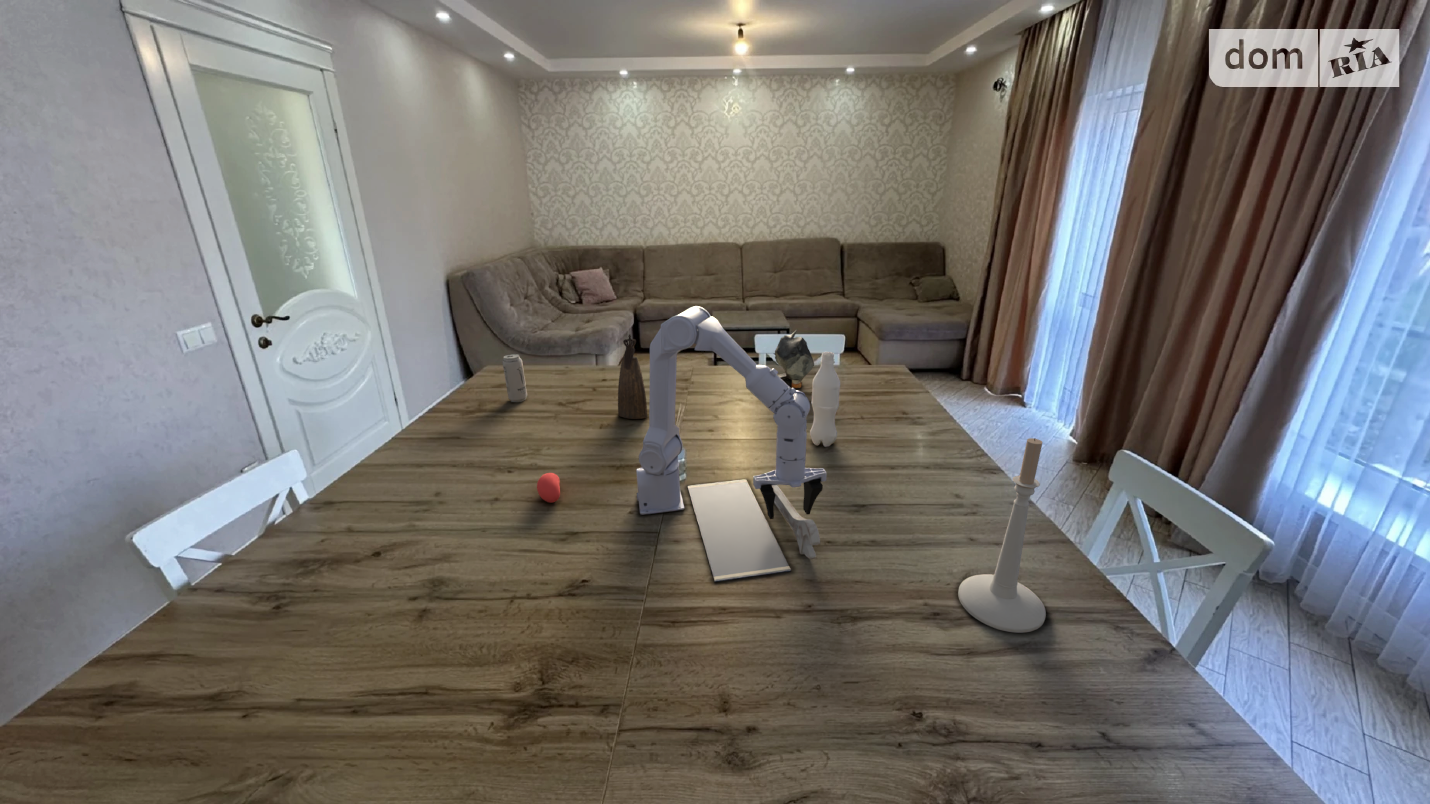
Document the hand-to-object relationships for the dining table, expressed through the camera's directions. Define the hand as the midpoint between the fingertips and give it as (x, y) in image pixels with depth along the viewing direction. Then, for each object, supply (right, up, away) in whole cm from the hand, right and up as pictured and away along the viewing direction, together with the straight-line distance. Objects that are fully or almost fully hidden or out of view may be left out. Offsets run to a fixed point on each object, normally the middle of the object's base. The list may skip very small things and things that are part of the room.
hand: (788, 514), depth 112 cm
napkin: (-11, -2, +2) cm, 12 cm away
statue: (-40, +18, +57) cm, 72 cm away
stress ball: (-52, +1, +14) cm, 54 cm away
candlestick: (+32, -11, -21) cm, 40 cm away
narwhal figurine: (+12, +29, +81) cm, 87 cm away
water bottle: (+14, +12, +37) cm, 41 cm away
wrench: (0, -3, +1) cm, 3 cm away
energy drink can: (-80, +23, +72) cm, 110 cm away
